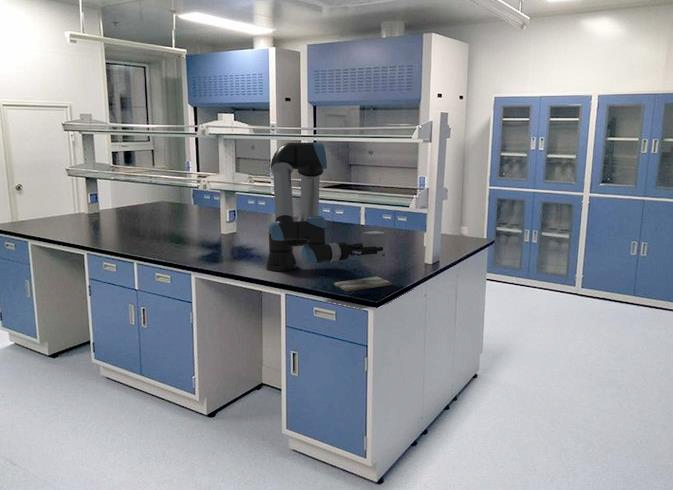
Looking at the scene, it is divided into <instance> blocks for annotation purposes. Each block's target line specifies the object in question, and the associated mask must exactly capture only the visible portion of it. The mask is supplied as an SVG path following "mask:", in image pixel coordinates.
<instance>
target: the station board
mask: <svg viewBox="0 0 673 490" xmlns="http://www.w3.org/2000/svg"><path fill="white" fill-rule="evenodd" d="M333 285H334V286H336V287H337V288H339V289H341V290H344V291H345V292H353V291H354V292H355V291H360V290H367V289H372V288H378V287H384V286H385V287H386V286H390V285H392V281H389V280H386V279H385V278H382V277H379V276H377V275H376V276H370V277H363V278H357V279H350V280H343V281H337V282H336V281H335V282H333Z"/></svg>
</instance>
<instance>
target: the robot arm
mask: <svg viewBox="0 0 673 490" xmlns="http://www.w3.org/2000/svg"><path fill="white" fill-rule="evenodd" d="M326 152H327V151H326V148H325V144H324V143H322V142H315V141H313V142H286V143H285V144H283V145H281V146H280V147H279V148H278V149H277V150H276V151H275V153H274V154H273V156H272V157H271V160H270V161H271V162H270V172H271V174H272V175H273V176H272V177H273V192H274V193H273V194H274V195H273V197H274V221H272V222H270V223H269V224H268V231H267V232H268V255H267V259H266V262H265V269H266V270H268V271H272V272H287V271H292V270H295V269H297V268H298V262H297V260H296V257H295V254H294V247H302V248H301V251H300V254H301V255H300V257H301V260H302V261H303V263H305V264H306V265H313V264H314V265H316V264H321V263H333V262H337V261H344V260H345V261H346V260H348V259H349V256H357V257H359V256H363V255H368V254H377V252H384V251H385V252H389V244H385V245H379V246H375V247H363V242H357V243H350V244H348V243H347V242H345V241H341V242H340V241H339V242H337V243H336V242H331V243H326V219H325V217H324V216H323V215H319V208H320V207H319V206H320V182H321V181H320V178H321V176H322V175H323V174H324V170H327V168H328V161H327V154H326ZM294 170H297V173H298V174H299V175H300V215H299V217H298V218H297V220H296V221H294V207H293V204H294V203H293V189H292V188H293V187H292V185H293V184H292V173H293V171H294Z"/></svg>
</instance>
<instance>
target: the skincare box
mask: <svg viewBox="0 0 673 490" xmlns="http://www.w3.org/2000/svg"><path fill="white" fill-rule="evenodd" d="M362 243H363V247H375V246H379V245H386V232H384V231H378V230H374V231H364V232H362ZM385 252H386V251H384V252H377V254H368V255H362V266H364V267H366V268H369V269H371V268H377V267H383V266H385V254H386V253H385Z"/></svg>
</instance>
